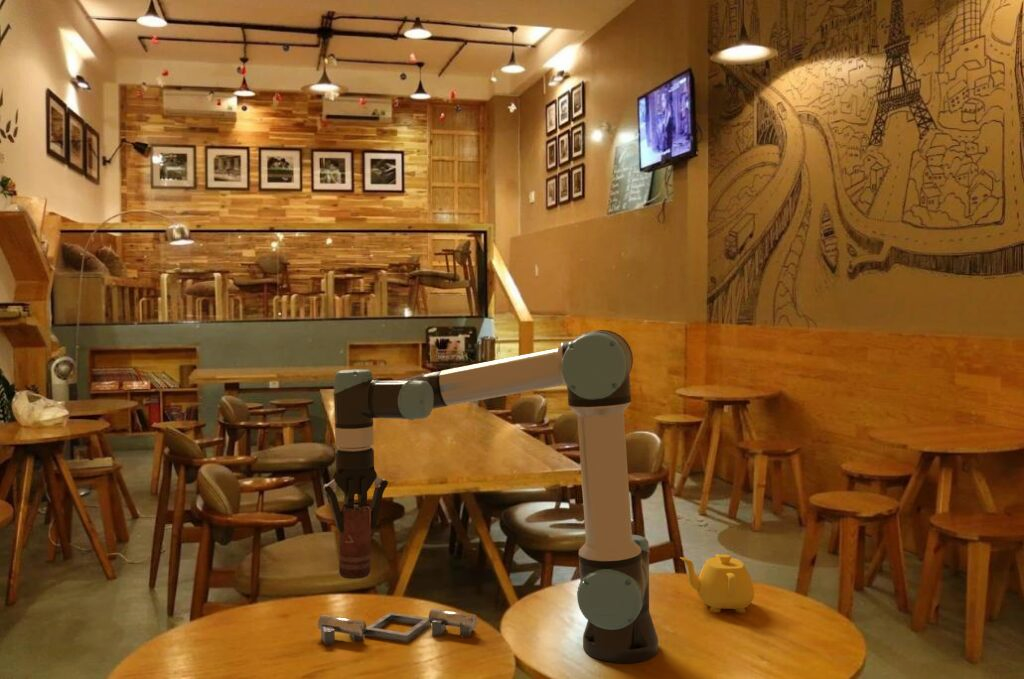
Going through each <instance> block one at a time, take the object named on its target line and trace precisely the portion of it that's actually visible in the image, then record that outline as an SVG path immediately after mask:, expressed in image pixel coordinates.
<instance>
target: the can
mask: <svg viewBox="0 0 1024 679" xmlns="http://www.w3.org/2000/svg"><path fill="white" fill-rule="evenodd" d="M358 508H359V509H358ZM340 511H341V515H342V518H343V522H344V532H340V531H339V560H338V561H339V563H338V564H339V566H338V568H339V569H338V573H339V575H340V577H342V578H345V579H348V580H353V579H355V580H357V579H363V578H366V577H368V576H369V575H370V573H371V553H372V552H371V549H372V548H371V547H372V546H371V544H372V540H371V539H372V529H371V504H368V503H367V506H363V507H359V506H358V502H354V509H349V508H346V507H345V503H344V504H342V507H340Z"/></svg>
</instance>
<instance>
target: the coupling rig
mask: <svg viewBox="0 0 1024 679" xmlns="http://www.w3.org/2000/svg"><path fill="white" fill-rule="evenodd" d="M392 621H393V623H398V622H401V623H400V624H406V625H412V627H411V628H410V629H408V630H407V631H405V632H402V631H395V630H391V629H390V630H389V629H383V628H384V627H386V626H387V625H389V624H390V623H392ZM388 623H389V624H388ZM477 623H478V617H477V615H476V614H475V613H465V612H460V611H459V612H458V611H452V610H447V609H439V608H431V609H430V611H429V613H428V617H423V616H418V615H411V614H402V613H398V612H390V611H389V612H388V613H386V614H385V615H383V616H382V617H380V618H378V619H377V620H376V621H374V622H372V623H371V624H369V625H368V626H367V622H366V621H365V620H360V618H355V619H353V618H346V617H339V616H333V615H327V614H321V615H320V616H319V618H318V621H317V628H318V629H319V630H320V639H321V640H322V641H321V642H322V643H323V645H324V647H329V646H335V645H336V643H335V642H336V640H335V636H336V634H335V633H341V634H347V635H350V637H351V639H352V641H353V642H360V641H361V642H362V641H364V640H365V638H364V636H365V637H369V638H375V639H383V640H387V641H392V642H393V641H394V640H395V641H394V642H399V641H401V642H400V643H405V642H406V643H409V642H410V641H412V640H413V639H414V638H416V637H417V636H419V635H420V634H421V633H423V632H424V631H425V630H427V629H428V628H430V627H431V629H432V630H431V636H432V637H443V634H444V633H445V631H446V630H447V626H448V627H454V628H459V637H460V638H469V637H471V636H472V633H473V631H474V630H475V629H476V627H477ZM461 636H463V637H461Z"/></svg>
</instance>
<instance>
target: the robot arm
mask: <svg viewBox="0 0 1024 679" xmlns="http://www.w3.org/2000/svg"><path fill="white" fill-rule="evenodd" d="M633 364H634V356H633V351H632V348H631V346H630V344H629V343H628V341H627V340H626V339H625V338H624V337H623V336H622V335H621V334H619V333H617V332H615V331H612V330H606V329H599V330H594V331H589V332H584V333H582V334H580V335H579V336H576V337H575V338H574V339H571V340H567V341H561V344H560V345H559V346H558V347H557V348H552V349H546V350H541V351H536V352H531V353H526V354H521V355H514V356H510V357H505V358H499V359H496V360H495V359H494V360H490V361H485V362H479V363H478V362H477V363H474V364H470V365H463V366H459V367H452V368H449V369H443V370H440V371H439V370H437V371H432V372H423V373H419V374H416V375H415V376H409V377H407V378H403V379H394V380H393V379H392V380H391V379H388V380H380V379H374V377H373V372H372V370H369V369H361V368H360V369H358V368H357V369H353V368H352V369H343V370H339V371H337V372H336V373H335V374H334V380H333V381H334V383H333V401H334V403H333V404H334V406H333V407H334V433H335V434H334V444H335V447H337V449H336V450H335V451H334V452H335V472H334V475H333V479H332V480H331V481H330V482H329V481H328V483H325V484H322V489H323V491H324V492H325V493H326V495H327V497H328V500H329V505H330V509H331V512H332V515H333V519H334V522H335V526H336V529H337V530H338V531H339V533H340V532H344V522H343V518H342V515H341V507H340V504H339V501H338V497H337V495H336V492H337V486H338V488H339V489H340V490H341V491H342V492H343V493H344V504H345V507H346V508H349V509H354V503H355V495H357V503H358V506H359V507H363V506H367V504H368V492H369V491H370V488H371V487H372V485H374V490H373V493H372V494H373V496H372V499H371V504H370V508H371V530H372V529H376V527H377V525H378V520H379V514H380V510H381V505H382V500H383V495H384V492H385V490H386V489H387V486H388V485H389V482H388V480H386V479H385V478H382V477H380V476H378V474H377V471H376V469H375V449H374V448H373V447H372V446H374V444H375V441H374V419H399V420H400V419H401V420H409V421H413V420H418V419H421V420H423V419H427V418H428V417H429V416H430V415H431V412H433V409H440V408H444V407H448V406H449V407H450V406H454V405H455V406H456V405H461V404H466V403H471V402H478V401H482V400H488V399H494V398H498V397H504V396H505V397H506V396H511V395H515V394H516V395H517V394H522V393H526V392H533V391H539V390H545V389H549V388H556V387H562V386H566V388H567V401H568V403H567V404H568V408H569V409H571V411H573V412H574V413H575V414H576V416H577V428H578V429H577V430H578V432H577V433H578V443H579V444H578V445H579V459H580V460H579V461H580V462H579V463H580V473H581V488H582V501H583V502H582V504H583V517H584V518H583V520H584V531H585V532H584V533H585V543H584V544H583V545H582V546H581V547H580V548H579V550H578V565H579V580H580V583H579V584H578V587H577V592H576V595H577V596H576V598H577V603H578V604H577V605H578V608H579V610H580V612H581V614H582V615H583V617H584V618H585V619H586V620H587V622H586V626H585V628H584V631H583V635H582V647H583V651H584V652H585V653H586V654H587V655H589V656H590V657H592V658H594V659H597V660H600V661H603V662H604V661H605V662H610V663H618V664H631V663H632V664H633V663H639V662H643V661H646V660H649V659H652V658H653V657H655V656H656V655H657V653H658V652H659V637H658V634H657V631H656V627H655V624H654V622H653V619H652V618H653V617H652V616H651V612H650V554H651V550H650V545H649V541H648V539H647V538H646V537H644V536H642V535H638V534H633V532H632V518H631V504H630V489H629V485H630V484H629V474H628V458H627V456H628V454H627V443H626V428H625V426H626V425H625V424H626V423H625V414H624V413H625V411H626V410H627V409H628V408H629V406H630V405H631V404H632V392H631V378H630V377H631V376H630V374H631V371H632V369H633ZM358 509H359V508H358Z"/></svg>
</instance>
